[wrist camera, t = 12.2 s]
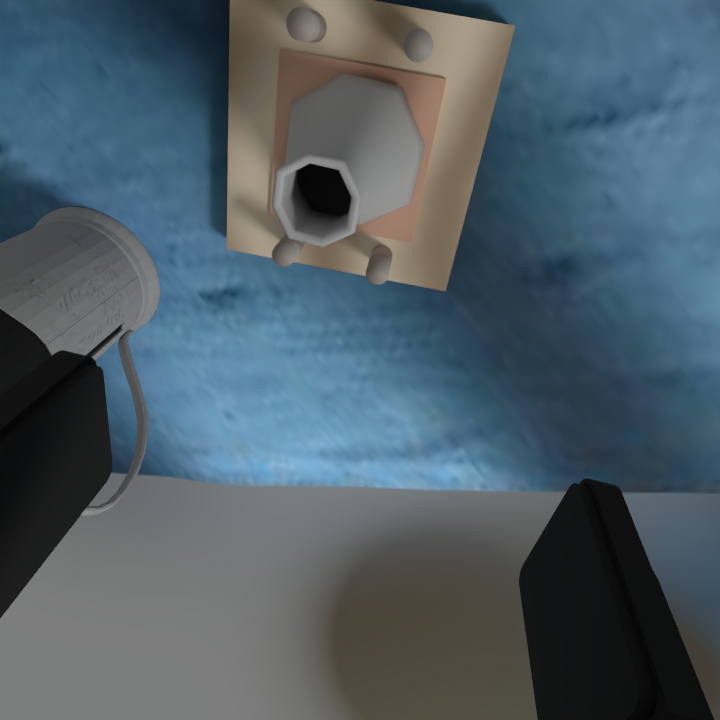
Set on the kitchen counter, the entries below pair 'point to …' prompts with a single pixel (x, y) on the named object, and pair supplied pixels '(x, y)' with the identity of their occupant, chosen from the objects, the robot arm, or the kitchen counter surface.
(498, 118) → the kitchen counter surface
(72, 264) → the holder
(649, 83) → the kitchen counter surface
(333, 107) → the flask
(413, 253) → the four-post base plate
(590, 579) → the robot arm
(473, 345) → the kitchen counter surface
